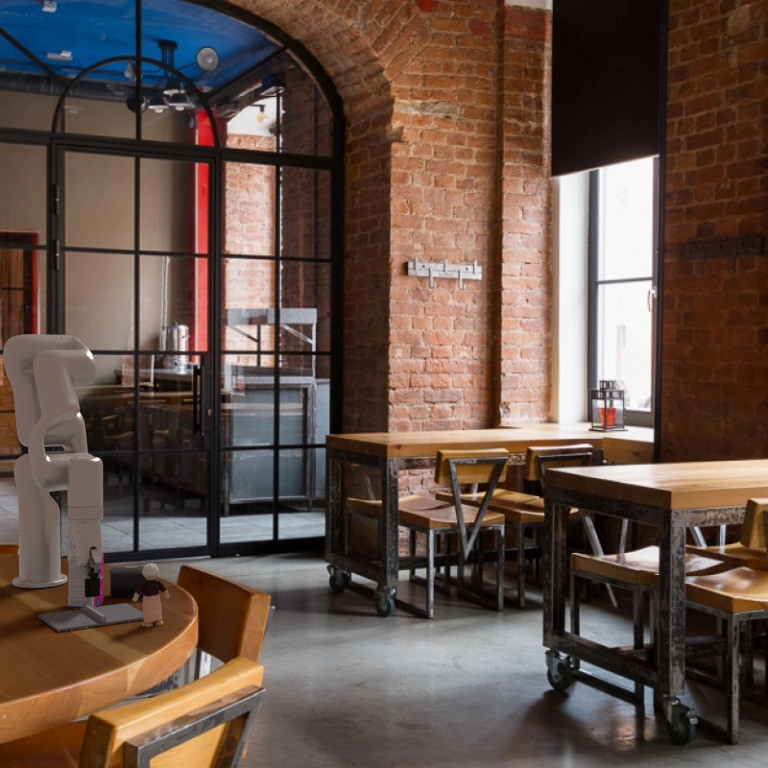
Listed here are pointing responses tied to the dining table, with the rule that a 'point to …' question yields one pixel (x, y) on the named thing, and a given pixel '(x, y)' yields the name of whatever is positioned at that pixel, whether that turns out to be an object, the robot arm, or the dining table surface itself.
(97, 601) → the supplement box
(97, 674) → the dining table surface
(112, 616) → the mat
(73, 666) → the dining table surface
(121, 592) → the end cap
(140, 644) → the dining table surface
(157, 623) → the grandmother figurine
